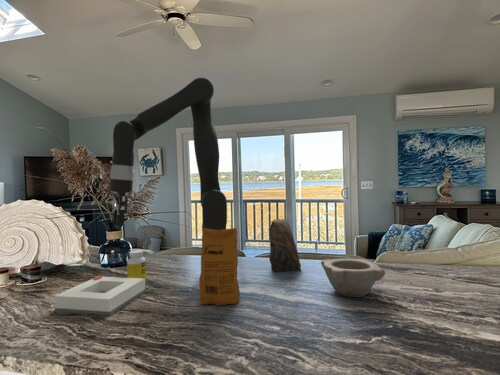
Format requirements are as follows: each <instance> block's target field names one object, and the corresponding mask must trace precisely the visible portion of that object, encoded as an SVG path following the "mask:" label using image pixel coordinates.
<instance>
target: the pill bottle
mask: <svg viewBox="0 0 500 375" xmlns="http://www.w3.org/2000/svg"><path fill="white" fill-rule="evenodd" d="M143 255H144V250H142V249H135V250H131V251H129V259H127V261H126V268H127V269H126V270H127V278H144V279H145V283H146V282H147V259H146V257H144V256H143Z"/></svg>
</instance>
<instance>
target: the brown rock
mask: <svg viewBox="0 0 500 375" xmlns="http://www.w3.org/2000/svg"><path fill="white" fill-rule="evenodd" d="M295 241H296V240H295V239H294V236H293V232H292V229H291V227H290V223H289V221H288V219H287V218H286V217H285V218H282V219H280V218H275V219H273V220H272V221H271V224H270V226H269V246H270V247H269V248H270V250H269V252H270V253H269V256H268V257H269V259H268V260H269V262H270V263H269V264H270V266H271V271H272V272H273V273H277V274H278V273H286V272H287V273H289V272H291V273H292V272H301V271H302V268H301V267H302V265H301V260H300V257H299V252H298V249H297V244H296V242H295Z"/></svg>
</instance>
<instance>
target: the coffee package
mask: <svg viewBox="0 0 500 375" xmlns="http://www.w3.org/2000/svg"><path fill="white" fill-rule="evenodd" d="M237 243H238V228H237V227H234V228H233V227H232V228H226V229H224V230H212V229H205V228H204V229H203V235H201V256H200V274H199V275H200V276H199V301H200V304H201V305H202V304H206V305H211V304H213V305H216V306H227V304H229V305H234V304H235V305H236V304H237V303H239V299H240V298H241V291H240V286H239V281H238V264H239V258H238V257H239V256H238V245H237Z"/></svg>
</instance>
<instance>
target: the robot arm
mask: <svg viewBox="0 0 500 375" xmlns="http://www.w3.org/2000/svg"><path fill="white" fill-rule="evenodd" d="M214 88H215V87H214V85H213V83H212V82H211V80H209V79H208V78H205V77H202V76H201V77H196V78H194V79H193V80H192V81H191V82H189V83H188V84H187V85H186V86H185V87H183V88H182V89H181V90H179V91H178V92H176V93H174V94H172V95H170V97H168V98H165V99H164V100H162V101H160V102H158V103H156V104H155V105H152V106H150V107H149V108H147V109H145V110H143V111H141V112H140V113H138V114H137V116H136V117H135V118H133V119H131V120H129V121H127V120H121V121H118V122H117V123H116V124H115V125H114V128H113V131H112V132H113V134H112V141H113V142H112V143H113V145H112V148H113V152H112V160H111V162H112V163H111V169H110V175H109V176H110V178H109V188H108V189H109V192H113V193H114V194H113V199H112V200H113V201H112V208H111V209H112V212H113V216H112V217H113V218H112V222H113V223H114V224H116V225H117V227H123V226H125V217H126V214H127V213H128V210H127V209H128V199H129V197H128V195H126V193H127V194H129V193H133V187H134V186H133V184H134V174H135V173H134V164H135V153H134V146H135V141H137V140H139V139H140V138H142V136H144V135H146V134H147V133H149V132H150V131H152V130H154V129H156V128H158V127H160V126H162V125H163V124H166V122H168V121H169V120H171V119H172V118H174V117H175V116H176V115H178V114H180V113H181V112H182V111H184V110H185V109H187V108H190V110H191V111H190V112H191V115H192V116H191V117H192V124H193V125H192V128H193V129H192V134H193V146H194V154H195V160H196V166H197V170H198V175H199V182H200V184H199V186H200V188H199V189H200V201H199V202H200V206H201V208H202V225H201V233H202V235H203V229H204V228H205V229H212V230H224V229H227V224H228V202H227V201H228V200H227V197H226V195H225V194H224V192H222V191H221V187H220V181H219V180H220V179H219V167H220V166H219V165H220V149H219V148H220V147H219V140H218V139H219V138H218V134H217V132H216V128H215V127H214V126H215V125H214V123H213V119H212V112H211V111H212V110H211V107H212V105H211V102H212V101H211V100H212V98H213V97H214V93H215V92H214V90H215V89H214ZM202 235H201V236H202Z"/></svg>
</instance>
